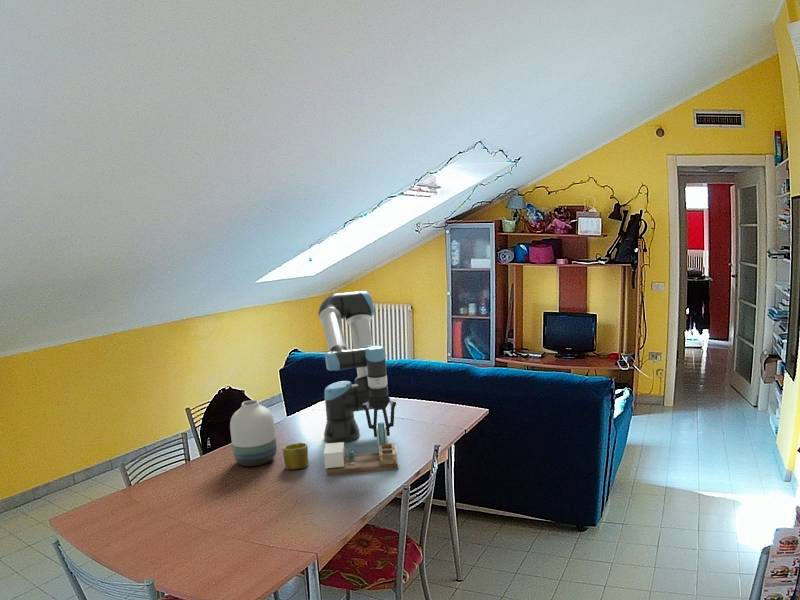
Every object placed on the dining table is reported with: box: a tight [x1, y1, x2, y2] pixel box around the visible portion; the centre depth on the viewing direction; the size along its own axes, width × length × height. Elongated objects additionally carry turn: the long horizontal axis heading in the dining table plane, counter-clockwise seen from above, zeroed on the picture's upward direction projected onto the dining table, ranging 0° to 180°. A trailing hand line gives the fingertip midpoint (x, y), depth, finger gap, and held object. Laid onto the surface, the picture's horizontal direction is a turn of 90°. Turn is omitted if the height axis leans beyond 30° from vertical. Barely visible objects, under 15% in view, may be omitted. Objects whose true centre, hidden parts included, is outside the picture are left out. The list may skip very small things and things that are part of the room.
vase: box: [229, 399, 278, 467], centre depth 242 cm, size 17×17×24 cm
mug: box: [282, 441, 309, 471], centre depth 236 cm, size 12×10×10 cm
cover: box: [323, 442, 346, 469], centre depth 230 cm, size 10×7×6 cm
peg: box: [377, 421, 386, 445], centre depth 242 cm, size 2×2×12 cm
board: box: [326, 442, 399, 477], centre depth 231 cm, size 13×26×6 cm, turn 93°
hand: (382, 444), depth 242 cm, fingers closed on peg, 2 cm apart
